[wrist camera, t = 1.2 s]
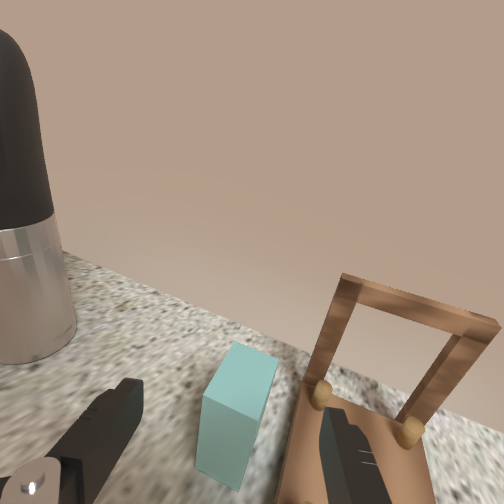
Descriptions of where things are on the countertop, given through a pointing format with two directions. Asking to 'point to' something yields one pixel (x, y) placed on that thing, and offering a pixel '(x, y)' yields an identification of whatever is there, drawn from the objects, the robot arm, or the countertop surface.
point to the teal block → (233, 413)
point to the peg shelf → (372, 424)
